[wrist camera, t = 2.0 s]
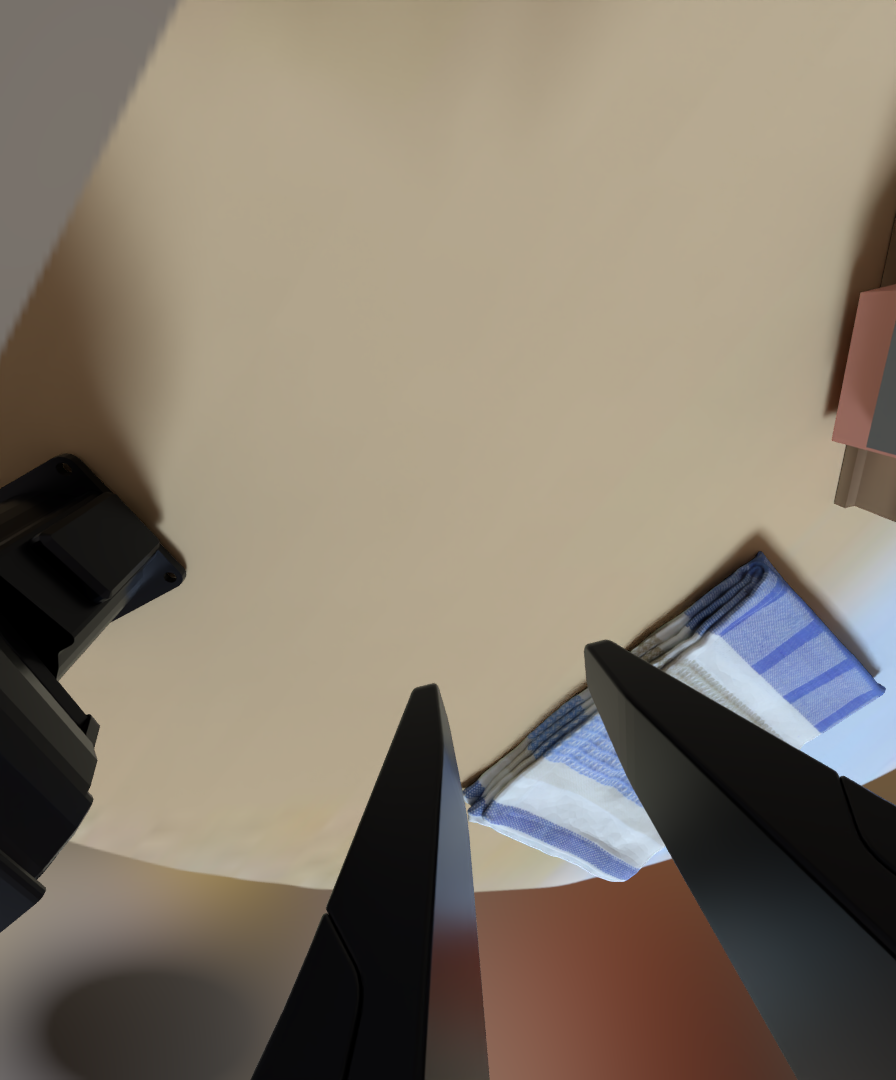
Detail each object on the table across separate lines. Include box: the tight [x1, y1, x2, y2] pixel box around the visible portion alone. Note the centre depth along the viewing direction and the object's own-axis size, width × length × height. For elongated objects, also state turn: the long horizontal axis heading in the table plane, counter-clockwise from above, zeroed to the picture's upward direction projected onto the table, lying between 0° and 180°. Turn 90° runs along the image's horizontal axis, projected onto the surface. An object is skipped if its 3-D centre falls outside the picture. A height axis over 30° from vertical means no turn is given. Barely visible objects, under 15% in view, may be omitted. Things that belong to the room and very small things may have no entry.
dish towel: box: [462, 551, 886, 882], centre depth 29 cm, size 17×24×3 cm
